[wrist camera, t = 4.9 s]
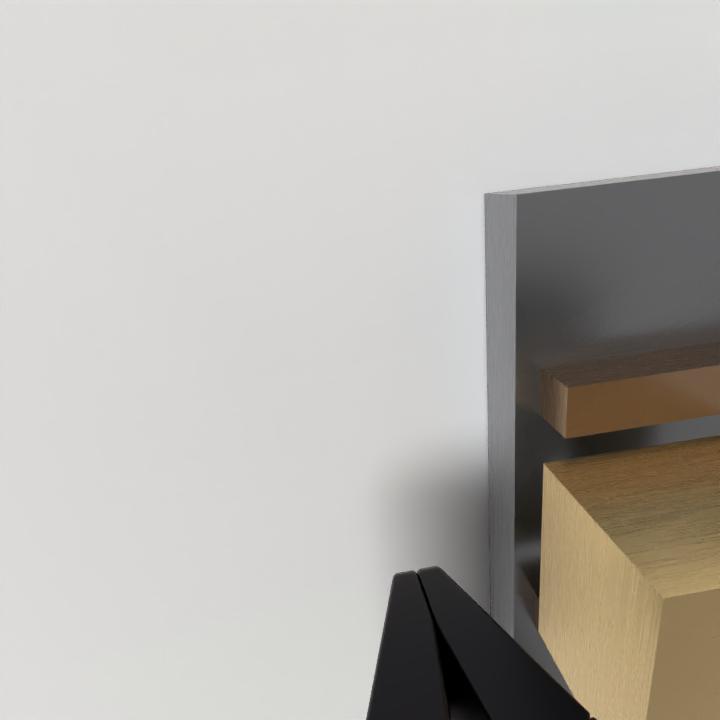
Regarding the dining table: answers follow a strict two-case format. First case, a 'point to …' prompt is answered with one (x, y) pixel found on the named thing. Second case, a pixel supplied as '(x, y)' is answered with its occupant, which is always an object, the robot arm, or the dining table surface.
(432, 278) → the dining table surface
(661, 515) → the tan wooden block
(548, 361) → the bolt plate
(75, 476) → the dining table surface
